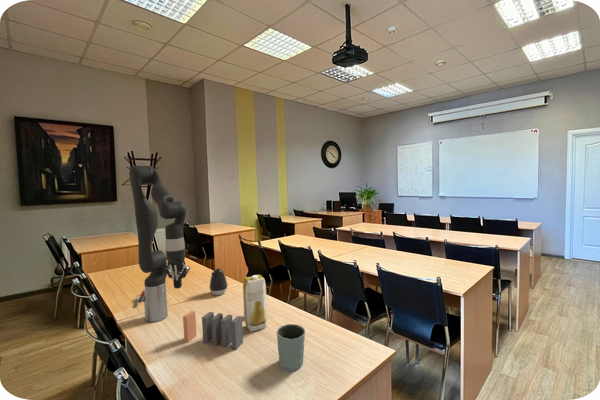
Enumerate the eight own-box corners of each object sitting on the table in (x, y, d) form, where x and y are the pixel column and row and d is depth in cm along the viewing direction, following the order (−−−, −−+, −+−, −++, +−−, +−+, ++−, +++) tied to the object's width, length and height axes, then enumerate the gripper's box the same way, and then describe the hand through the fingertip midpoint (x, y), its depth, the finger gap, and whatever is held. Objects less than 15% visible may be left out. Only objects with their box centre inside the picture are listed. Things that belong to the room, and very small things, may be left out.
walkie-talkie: (138, 295, 169) (133, 308, 151) (137, 288, 169) (133, 300, 150) (154, 292, 172) (152, 305, 154) (154, 285, 172) (151, 297, 154)
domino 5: (232, 348, 110) (230, 321, 109) (238, 341, 115) (237, 315, 114) (236, 349, 109) (235, 322, 109) (243, 342, 114) (241, 316, 113)
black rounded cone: (206, 295, 164) (204, 270, 163) (217, 289, 173) (216, 265, 172) (220, 298, 160) (218, 272, 159) (231, 291, 170) (229, 266, 169)
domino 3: (212, 345, 113) (211, 318, 112) (220, 338, 118) (218, 313, 117) (216, 345, 112) (215, 319, 112) (224, 339, 117) (222, 313, 116)
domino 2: (203, 343, 115) (201, 317, 114) (211, 336, 119) (209, 311, 119) (207, 343, 114) (205, 317, 113) (214, 337, 119) (213, 312, 118)
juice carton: (248, 333, 121) (246, 279, 119) (243, 325, 128) (241, 274, 126) (268, 328, 125) (266, 275, 123) (262, 320, 132) (260, 270, 130)
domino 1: (184, 341, 116) (182, 316, 115) (192, 335, 121) (191, 310, 120) (188, 342, 115) (186, 316, 115) (196, 336, 120) (195, 311, 119)
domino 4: (222, 346, 111) (220, 320, 111) (229, 340, 116) (228, 314, 116) (226, 347, 111) (225, 320, 110) (233, 340, 115) (232, 315, 115)
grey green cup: (277, 355, 104) (276, 324, 104) (304, 353, 105) (303, 322, 105) (278, 374, 94) (276, 340, 94) (307, 371, 95) (306, 337, 95)
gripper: (194, 247, 121) (196, 286, 122) (169, 245, 125) (172, 283, 126) (181, 251, 114) (183, 292, 115) (156, 249, 118) (158, 289, 119)
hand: (177, 287), depth 120 cm, fingers closed
